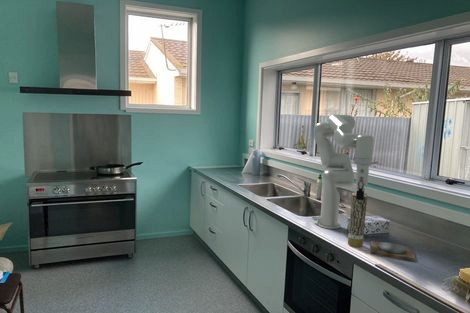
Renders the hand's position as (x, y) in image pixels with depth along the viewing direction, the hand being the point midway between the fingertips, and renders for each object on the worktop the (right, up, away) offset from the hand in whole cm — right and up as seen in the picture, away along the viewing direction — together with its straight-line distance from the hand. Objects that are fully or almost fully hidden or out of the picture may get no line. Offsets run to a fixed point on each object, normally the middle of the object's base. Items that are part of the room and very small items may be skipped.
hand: (359, 197), depth 170 cm
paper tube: (-1, -23, +3) cm, 24 cm away
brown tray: (+13, -25, -4) cm, 28 cm away
